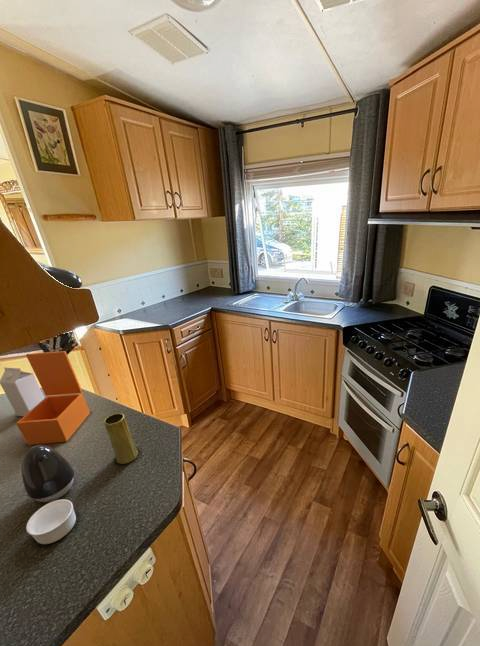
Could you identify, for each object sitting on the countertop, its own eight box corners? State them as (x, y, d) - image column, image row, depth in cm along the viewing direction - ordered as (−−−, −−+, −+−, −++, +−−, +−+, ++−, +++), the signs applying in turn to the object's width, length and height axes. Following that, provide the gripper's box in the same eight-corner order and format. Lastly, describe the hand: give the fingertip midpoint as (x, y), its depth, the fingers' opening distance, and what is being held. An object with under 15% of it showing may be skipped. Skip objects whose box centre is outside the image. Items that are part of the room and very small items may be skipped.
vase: (130, 465, 84) (116, 426, 78) (111, 463, 85) (96, 424, 79) (142, 450, 90) (130, 412, 83) (124, 448, 91) (111, 411, 85)
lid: (64, 352, 97) (65, 351, 98) (25, 354, 97) (27, 353, 98) (81, 393, 105) (82, 391, 106) (45, 395, 104) (47, 394, 105)
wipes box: (67, 441, 95) (57, 419, 91) (27, 444, 95) (15, 423, 91) (90, 413, 109) (82, 393, 105) (55, 416, 109) (46, 396, 105)
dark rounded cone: (45, 516, 71) (18, 470, 64) (26, 498, 76) (-1, 454, 69) (86, 485, 78) (66, 442, 72) (67, 471, 83) (46, 429, 77)
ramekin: (29, 530, 67) (21, 518, 66) (72, 504, 73) (66, 492, 71) (39, 556, 62) (31, 543, 60) (84, 525, 68) (78, 513, 66)
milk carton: (34, 405, 116) (13, 363, 108) (48, 406, 115) (28, 363, 106) (17, 416, 110) (-7, 372, 102) (32, 417, 109) (9, 373, 100)
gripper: (35, 318, 103) (26, 364, 97) (73, 316, 103) (66, 361, 98) (50, 328, 110) (42, 371, 104) (86, 325, 111) (80, 368, 105)
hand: (54, 366), depth 101 cm, fingers closed
